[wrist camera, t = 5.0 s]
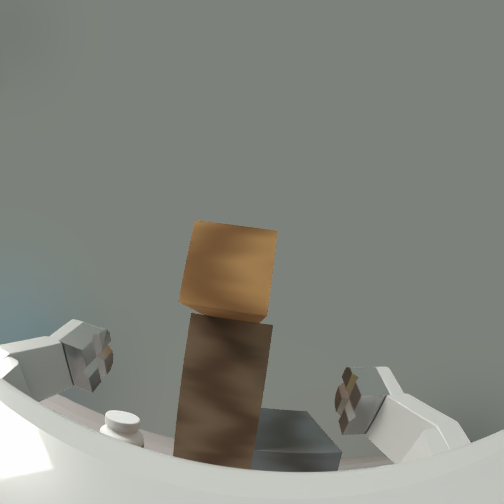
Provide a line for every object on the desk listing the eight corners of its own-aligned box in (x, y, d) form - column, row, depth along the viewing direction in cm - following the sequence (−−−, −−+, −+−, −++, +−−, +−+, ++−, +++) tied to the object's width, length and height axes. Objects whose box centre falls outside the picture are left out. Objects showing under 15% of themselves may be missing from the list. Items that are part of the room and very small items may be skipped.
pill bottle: (91, 473, 23) (90, 408, 27) (121, 465, 29) (123, 406, 32) (121, 495, 21) (121, 428, 24) (151, 483, 26) (154, 421, 30)
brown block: (178, 302, 12) (195, 220, 13) (219, 322, 31) (225, 288, 32) (267, 315, 12) (277, 231, 13) (254, 327, 31) (259, 293, 32)
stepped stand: (168, 554, 12) (191, 312, 20) (191, 495, 26) (213, 322, 33) (301, 566, 12) (362, 333, 20) (285, 506, 25) (318, 335, 33)
